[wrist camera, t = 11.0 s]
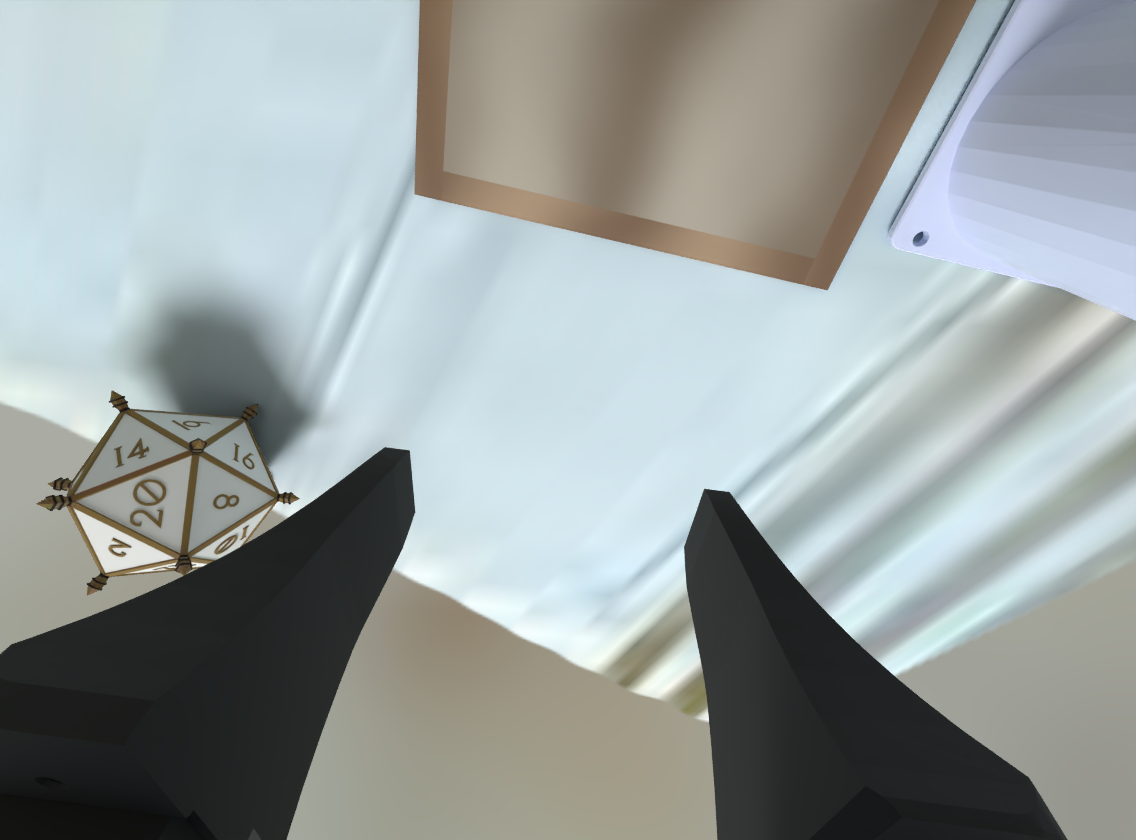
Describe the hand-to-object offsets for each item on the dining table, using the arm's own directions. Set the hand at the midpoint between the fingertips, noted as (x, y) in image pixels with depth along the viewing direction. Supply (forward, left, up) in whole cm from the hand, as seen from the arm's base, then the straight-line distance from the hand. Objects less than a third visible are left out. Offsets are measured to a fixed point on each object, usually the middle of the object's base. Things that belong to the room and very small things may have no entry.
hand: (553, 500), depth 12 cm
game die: (+16, +10, -11) cm, 22 cm away
